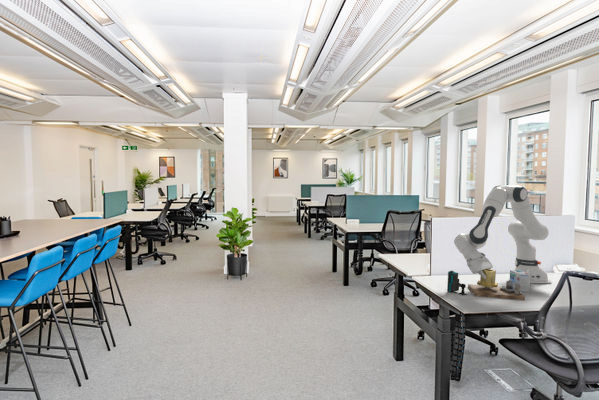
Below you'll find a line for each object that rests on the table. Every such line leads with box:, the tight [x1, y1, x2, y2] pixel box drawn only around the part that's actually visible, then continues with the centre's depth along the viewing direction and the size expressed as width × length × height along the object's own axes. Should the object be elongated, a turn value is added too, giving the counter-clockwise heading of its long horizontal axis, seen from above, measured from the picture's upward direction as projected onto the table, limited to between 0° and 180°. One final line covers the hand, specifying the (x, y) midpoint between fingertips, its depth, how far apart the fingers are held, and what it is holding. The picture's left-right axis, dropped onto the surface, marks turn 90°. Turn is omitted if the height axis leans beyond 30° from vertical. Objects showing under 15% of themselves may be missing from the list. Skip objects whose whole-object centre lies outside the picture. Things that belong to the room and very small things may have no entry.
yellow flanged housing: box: [476, 268, 499, 288], centre depth 225 cm, size 11×11×9 cm
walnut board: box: [467, 283, 526, 301], centre depth 224 cm, size 26×18×8 cm
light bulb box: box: [509, 269, 531, 292], centre depth 235 cm, size 11×7×11 cm, turn 3°
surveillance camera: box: [446, 270, 468, 296], centre depth 223 cm, size 6×12×10 cm
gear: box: [499, 279, 515, 293], centre depth 223 cm, size 10×9×6 cm
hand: (489, 277), depth 225 cm, fingers closed on yellow flanged housing, 6 cm apart
